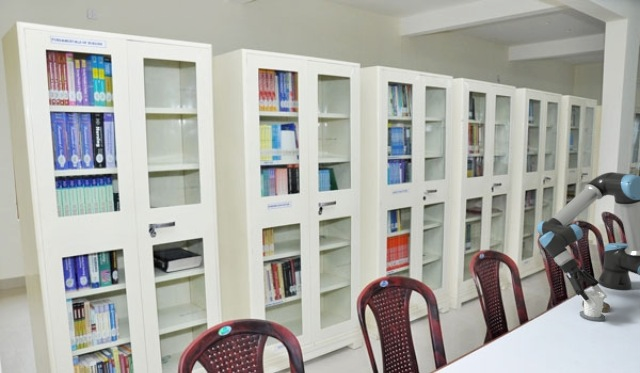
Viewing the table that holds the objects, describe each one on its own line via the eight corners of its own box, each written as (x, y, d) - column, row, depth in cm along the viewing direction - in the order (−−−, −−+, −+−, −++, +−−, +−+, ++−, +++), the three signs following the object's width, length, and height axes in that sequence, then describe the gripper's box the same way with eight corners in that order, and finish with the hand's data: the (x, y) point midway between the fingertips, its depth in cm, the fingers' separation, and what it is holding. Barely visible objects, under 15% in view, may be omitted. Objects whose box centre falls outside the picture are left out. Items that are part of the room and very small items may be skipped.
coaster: (584, 310, 220) (585, 308, 220) (608, 317, 212) (608, 315, 212) (576, 316, 213) (576, 314, 213) (600, 323, 206) (600, 321, 206)
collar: (587, 301, 231) (588, 297, 231) (612, 308, 223) (613, 304, 223) (578, 307, 224) (579, 303, 224) (604, 314, 216) (604, 310, 216)
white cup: (597, 311, 216) (599, 290, 215) (605, 318, 209) (607, 297, 207) (579, 310, 217) (581, 290, 216) (587, 318, 209) (589, 296, 208)
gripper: (571, 261, 230) (602, 299, 221) (548, 271, 214) (581, 313, 204) (583, 253, 225) (616, 291, 216) (561, 263, 209) (596, 305, 200)
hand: (599, 302), depth 210 cm, fingers open, 13 cm apart
